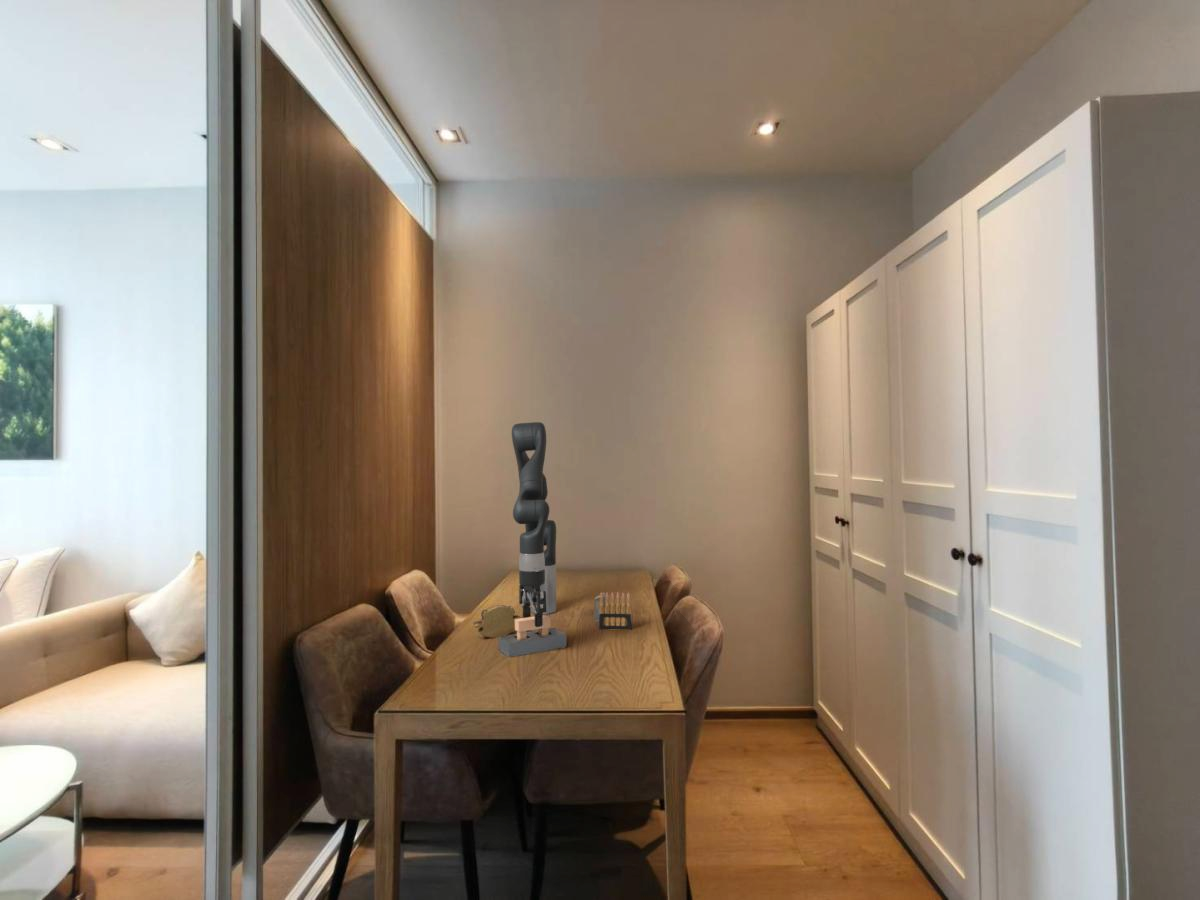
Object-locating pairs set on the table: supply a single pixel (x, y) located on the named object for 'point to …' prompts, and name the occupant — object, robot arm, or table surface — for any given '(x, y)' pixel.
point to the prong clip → (531, 626)
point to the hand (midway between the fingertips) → (532, 623)
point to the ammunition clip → (621, 613)
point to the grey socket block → (532, 642)
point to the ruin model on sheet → (596, 606)
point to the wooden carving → (497, 621)
